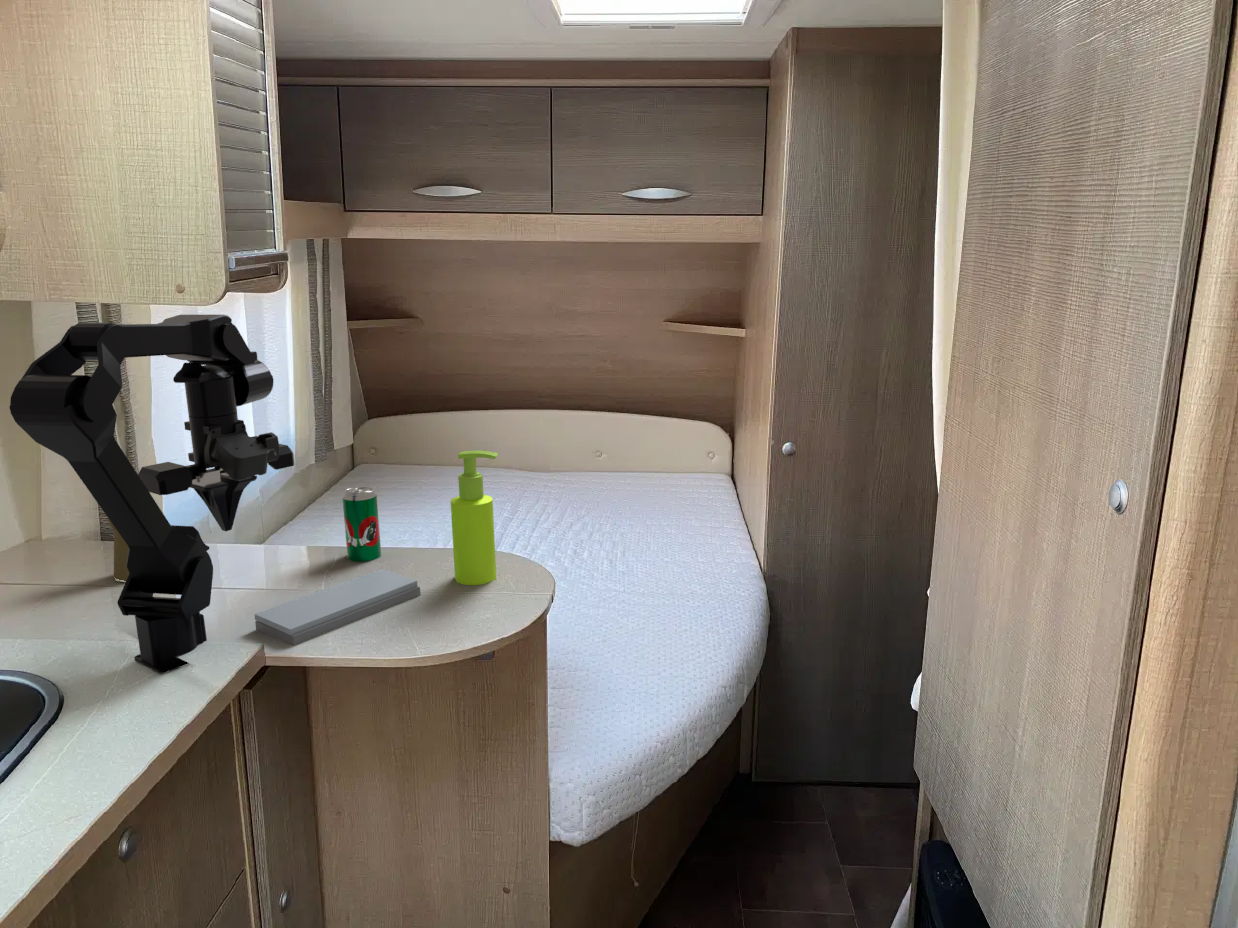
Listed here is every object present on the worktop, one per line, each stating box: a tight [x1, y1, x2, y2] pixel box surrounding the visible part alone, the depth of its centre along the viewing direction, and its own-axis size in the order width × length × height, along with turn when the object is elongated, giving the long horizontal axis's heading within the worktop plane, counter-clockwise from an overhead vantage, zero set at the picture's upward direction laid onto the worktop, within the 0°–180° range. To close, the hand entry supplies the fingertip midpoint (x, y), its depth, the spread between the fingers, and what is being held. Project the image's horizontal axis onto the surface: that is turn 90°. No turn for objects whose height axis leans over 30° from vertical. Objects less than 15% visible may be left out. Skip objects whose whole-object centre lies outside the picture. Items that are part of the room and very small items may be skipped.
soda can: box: [342, 486, 382, 563], centre depth 143 cm, size 5×5×12 cm
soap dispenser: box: [450, 449, 499, 586], centre depth 132 cm, size 6×7×20 cm
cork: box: [107, 517, 129, 581], centre depth 140 cm, size 6×6×11 cm
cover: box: [254, 568, 418, 635], centre depth 122 cm, size 20×8×1 cm, turn 143°
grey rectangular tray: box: [254, 585, 421, 646], centre depth 123 cm, size 20×8×2 cm, turn 143°
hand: (226, 530), depth 123 cm, fingers closed
